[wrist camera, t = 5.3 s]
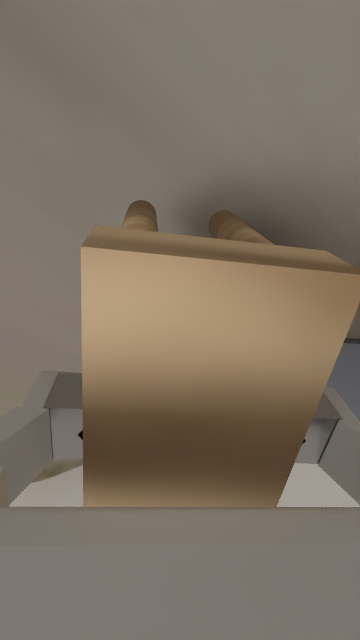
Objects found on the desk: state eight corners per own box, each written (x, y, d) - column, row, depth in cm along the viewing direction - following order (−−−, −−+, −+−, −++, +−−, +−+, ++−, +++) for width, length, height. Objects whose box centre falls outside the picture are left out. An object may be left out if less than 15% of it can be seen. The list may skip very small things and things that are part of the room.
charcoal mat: (411, 343, 31) (418, 347, 30) (364, 435, 36) (369, 441, 36) (230, 331, 28) (232, 336, 28) (207, 433, 34) (209, 439, 33)
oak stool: (121, 190, 15) (80, 246, 6) (246, 206, 16) (370, 275, 7) (113, 368, 19) (83, 549, 11) (211, 374, 20) (260, 546, 11)
